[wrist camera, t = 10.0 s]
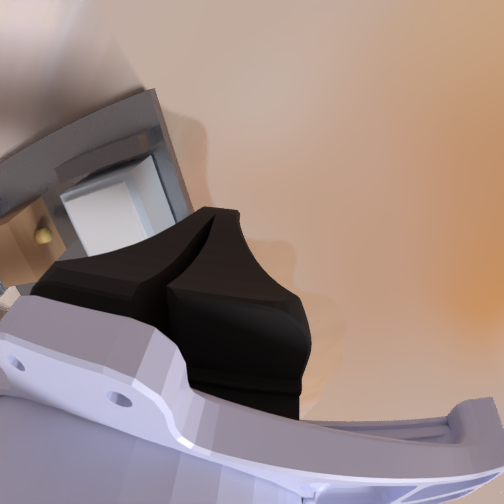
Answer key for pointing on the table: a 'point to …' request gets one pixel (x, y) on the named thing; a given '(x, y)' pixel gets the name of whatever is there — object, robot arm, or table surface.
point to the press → (92, 164)
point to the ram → (118, 206)
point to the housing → (28, 243)
